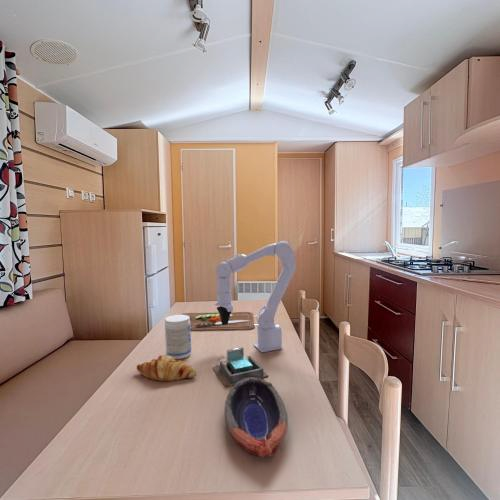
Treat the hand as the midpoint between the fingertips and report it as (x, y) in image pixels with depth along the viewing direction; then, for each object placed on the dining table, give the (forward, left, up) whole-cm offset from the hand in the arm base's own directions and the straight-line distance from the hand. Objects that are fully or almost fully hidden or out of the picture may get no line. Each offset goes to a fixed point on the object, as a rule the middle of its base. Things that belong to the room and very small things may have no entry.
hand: (224, 324), depth 125 cm
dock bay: (+3, +23, -9) cm, 25 cm away
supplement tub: (+19, 0, -10) cm, 21 cm away
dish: (+8, +49, -10) cm, 50 cm away
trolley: (+3, +23, -9) cm, 25 cm away
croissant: (+26, +15, -10) cm, 31 cm away
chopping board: (-6, -33, -10) cm, 35 cm away
